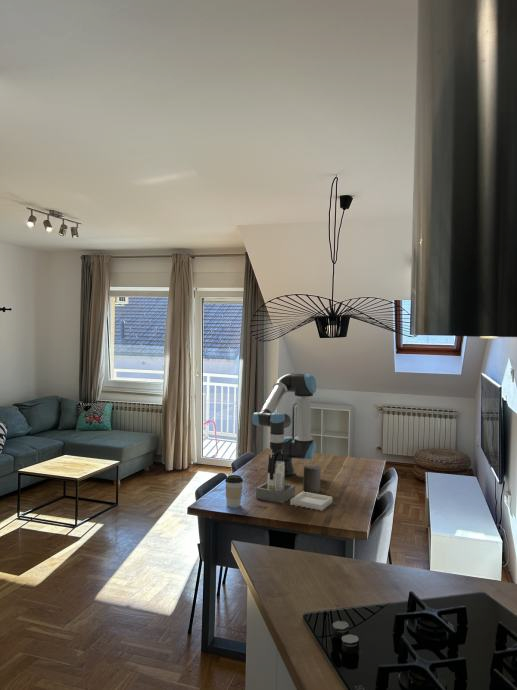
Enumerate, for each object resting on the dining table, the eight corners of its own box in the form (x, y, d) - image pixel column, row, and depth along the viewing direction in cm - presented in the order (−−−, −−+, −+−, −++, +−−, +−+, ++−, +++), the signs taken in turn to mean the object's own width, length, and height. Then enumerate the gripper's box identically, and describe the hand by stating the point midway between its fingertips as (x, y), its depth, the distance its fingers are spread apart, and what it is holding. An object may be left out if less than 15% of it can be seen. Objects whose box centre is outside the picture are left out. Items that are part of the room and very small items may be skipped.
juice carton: (285, 496, 267) (286, 461, 267) (277, 500, 259) (278, 464, 259) (273, 493, 271) (274, 459, 271) (265, 497, 263) (266, 462, 263)
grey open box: (255, 497, 262) (256, 487, 262) (268, 490, 276) (269, 481, 276) (282, 503, 255) (283, 492, 255) (294, 495, 268) (294, 485, 268)
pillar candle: (300, 491, 276) (301, 465, 276) (305, 486, 285) (306, 461, 285) (317, 494, 272) (318, 467, 272) (321, 489, 282) (322, 463, 281)
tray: (290, 505, 252) (290, 499, 252) (302, 496, 266) (302, 491, 266) (321, 511, 244) (321, 505, 244) (332, 502, 258) (332, 496, 258)
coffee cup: (225, 502, 254) (226, 473, 254) (242, 502, 254) (243, 473, 254) (223, 507, 245) (224, 478, 245) (241, 508, 245) (242, 478, 245)
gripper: (274, 445, 254) (273, 489, 254) (291, 439, 273) (290, 479, 273) (261, 444, 257) (260, 487, 258) (279, 437, 276) (278, 477, 276)
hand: (275, 483), depth 265 cm, fingers closed on juice carton, 9 cm apart
